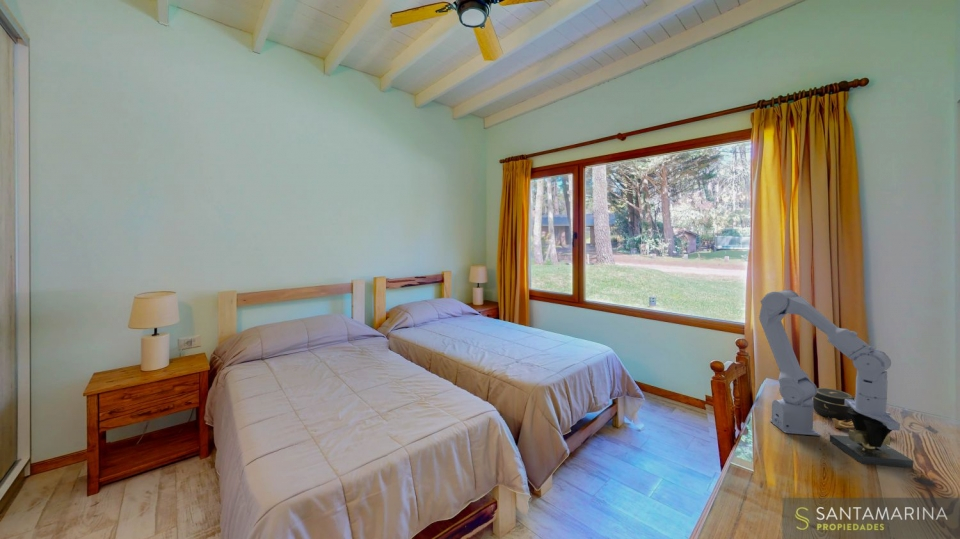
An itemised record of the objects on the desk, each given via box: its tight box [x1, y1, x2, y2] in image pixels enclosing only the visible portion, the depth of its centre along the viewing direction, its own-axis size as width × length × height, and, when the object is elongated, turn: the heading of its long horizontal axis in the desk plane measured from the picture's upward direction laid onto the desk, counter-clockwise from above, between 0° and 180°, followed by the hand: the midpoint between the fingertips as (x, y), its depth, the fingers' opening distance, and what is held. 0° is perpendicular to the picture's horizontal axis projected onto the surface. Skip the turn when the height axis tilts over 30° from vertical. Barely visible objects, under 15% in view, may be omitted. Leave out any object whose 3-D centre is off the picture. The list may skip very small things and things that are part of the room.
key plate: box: [829, 434, 914, 469], centre depth 96 cm, size 11×11×2 cm
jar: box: [812, 387, 855, 422], centre depth 119 cm, size 10×10×8 cm
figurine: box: [831, 418, 855, 429], centre depth 108 cm, size 8×6×12 cm
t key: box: [848, 429, 891, 450], centre depth 96 cm, size 8×2×6 cm, turn 78°
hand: (868, 442), depth 96 cm, fingers open, 3 cm apart
